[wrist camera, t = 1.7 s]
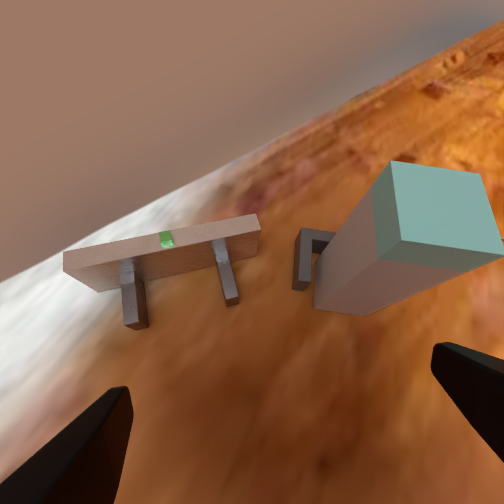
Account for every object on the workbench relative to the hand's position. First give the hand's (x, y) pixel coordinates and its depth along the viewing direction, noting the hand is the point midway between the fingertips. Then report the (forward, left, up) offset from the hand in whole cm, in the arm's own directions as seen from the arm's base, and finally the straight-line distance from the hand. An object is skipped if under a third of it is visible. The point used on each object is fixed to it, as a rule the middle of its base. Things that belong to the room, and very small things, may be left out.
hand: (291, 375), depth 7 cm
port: (+9, 0, -14) cm, 17 cm away
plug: (0, -11, -14) cm, 18 cm away
